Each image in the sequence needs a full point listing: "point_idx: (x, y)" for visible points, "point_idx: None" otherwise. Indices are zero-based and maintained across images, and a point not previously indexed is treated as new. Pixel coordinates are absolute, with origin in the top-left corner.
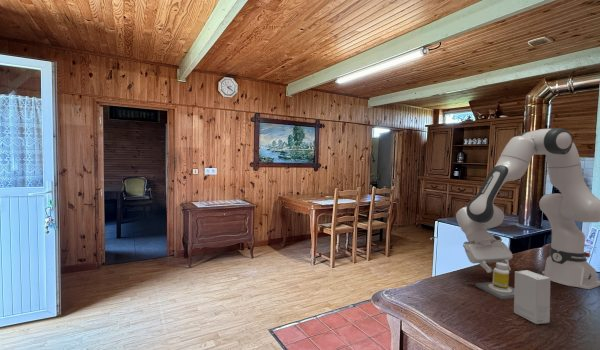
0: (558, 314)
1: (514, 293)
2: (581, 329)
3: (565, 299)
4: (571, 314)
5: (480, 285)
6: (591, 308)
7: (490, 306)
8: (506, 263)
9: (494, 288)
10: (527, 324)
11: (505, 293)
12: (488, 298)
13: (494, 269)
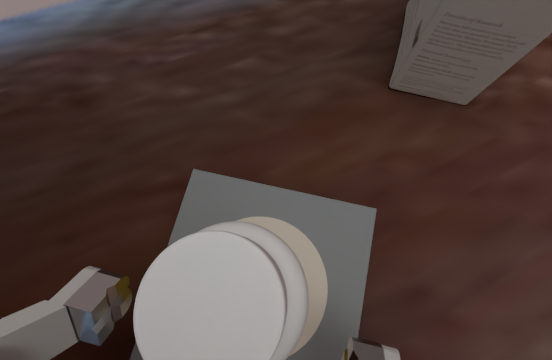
0: (278, 27)
1: (545, 37)
2: None
3: (60, 79)
4: (227, 10)
5: None
6: (82, 4)
7: (529, 188)
8: (22, 338)
9: (310, 294)
10: None
11: (313, 219)
12: (443, 252)
13: (288, 352)
